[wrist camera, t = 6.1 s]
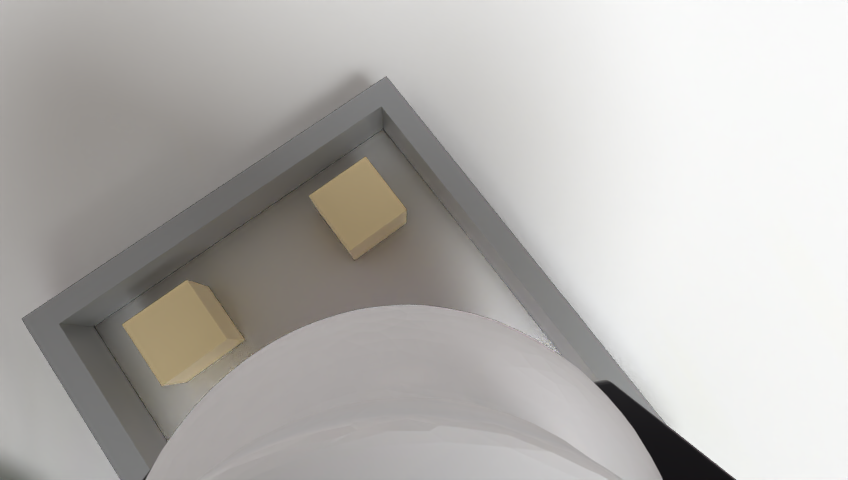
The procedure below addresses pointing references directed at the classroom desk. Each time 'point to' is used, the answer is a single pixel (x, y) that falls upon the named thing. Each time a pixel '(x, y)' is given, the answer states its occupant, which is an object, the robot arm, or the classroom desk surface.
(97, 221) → the classroom desk surface
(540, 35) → the classroom desk surface
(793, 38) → the classroom desk surface
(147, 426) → the tray
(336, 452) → the supplement bottle
